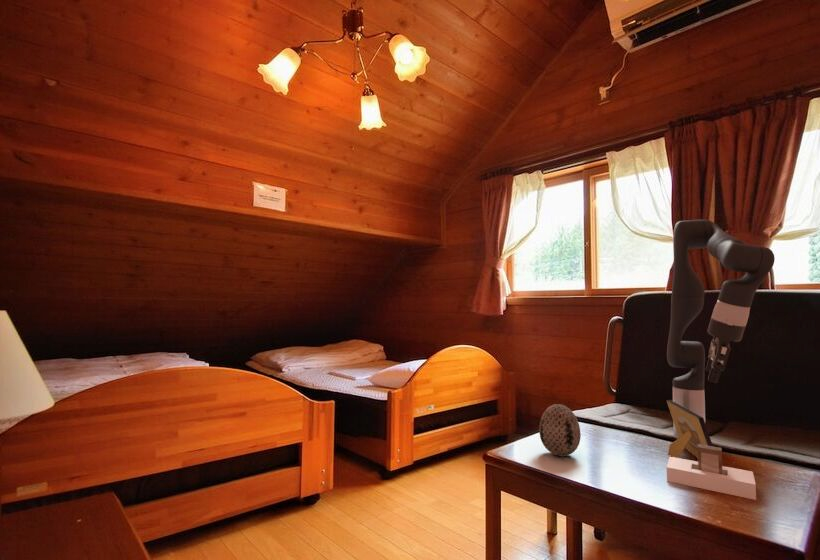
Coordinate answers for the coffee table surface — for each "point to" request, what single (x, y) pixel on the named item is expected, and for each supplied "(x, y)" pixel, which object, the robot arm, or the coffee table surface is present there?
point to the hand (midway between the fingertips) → (711, 376)
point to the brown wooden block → (710, 459)
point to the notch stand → (712, 478)
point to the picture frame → (687, 430)
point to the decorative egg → (559, 430)
